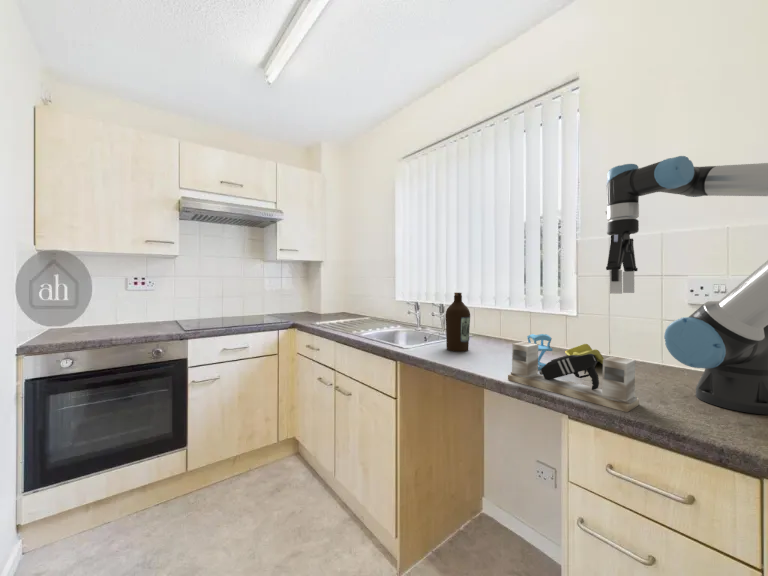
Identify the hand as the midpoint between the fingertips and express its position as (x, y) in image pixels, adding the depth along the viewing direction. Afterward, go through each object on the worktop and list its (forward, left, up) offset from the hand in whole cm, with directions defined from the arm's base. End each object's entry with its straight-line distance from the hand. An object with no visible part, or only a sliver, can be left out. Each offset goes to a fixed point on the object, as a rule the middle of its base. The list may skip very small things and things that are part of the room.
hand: (622, 293), depth 97 cm
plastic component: (+17, -19, -27) cm, 38 cm away
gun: (+7, +18, -25) cm, 32 cm away
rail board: (+7, +18, -27) cm, 33 cm away
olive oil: (+61, 0, -27) cm, 67 cm away
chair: (+25, -1, -27) cm, 37 cm away
